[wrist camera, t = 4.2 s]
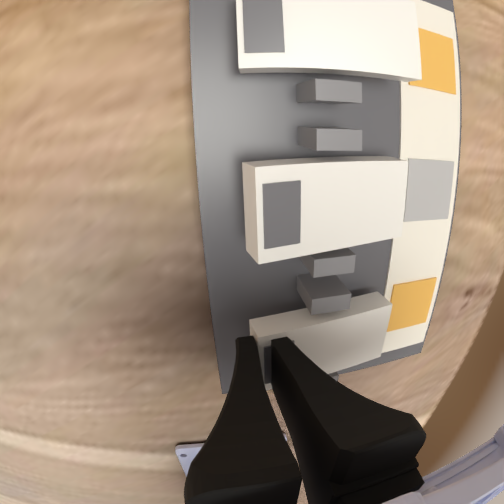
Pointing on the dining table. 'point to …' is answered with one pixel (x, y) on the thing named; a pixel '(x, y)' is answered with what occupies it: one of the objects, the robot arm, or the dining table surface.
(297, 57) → the block
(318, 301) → the switch unit
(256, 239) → the block
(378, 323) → the rocker
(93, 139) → the dining table surface
